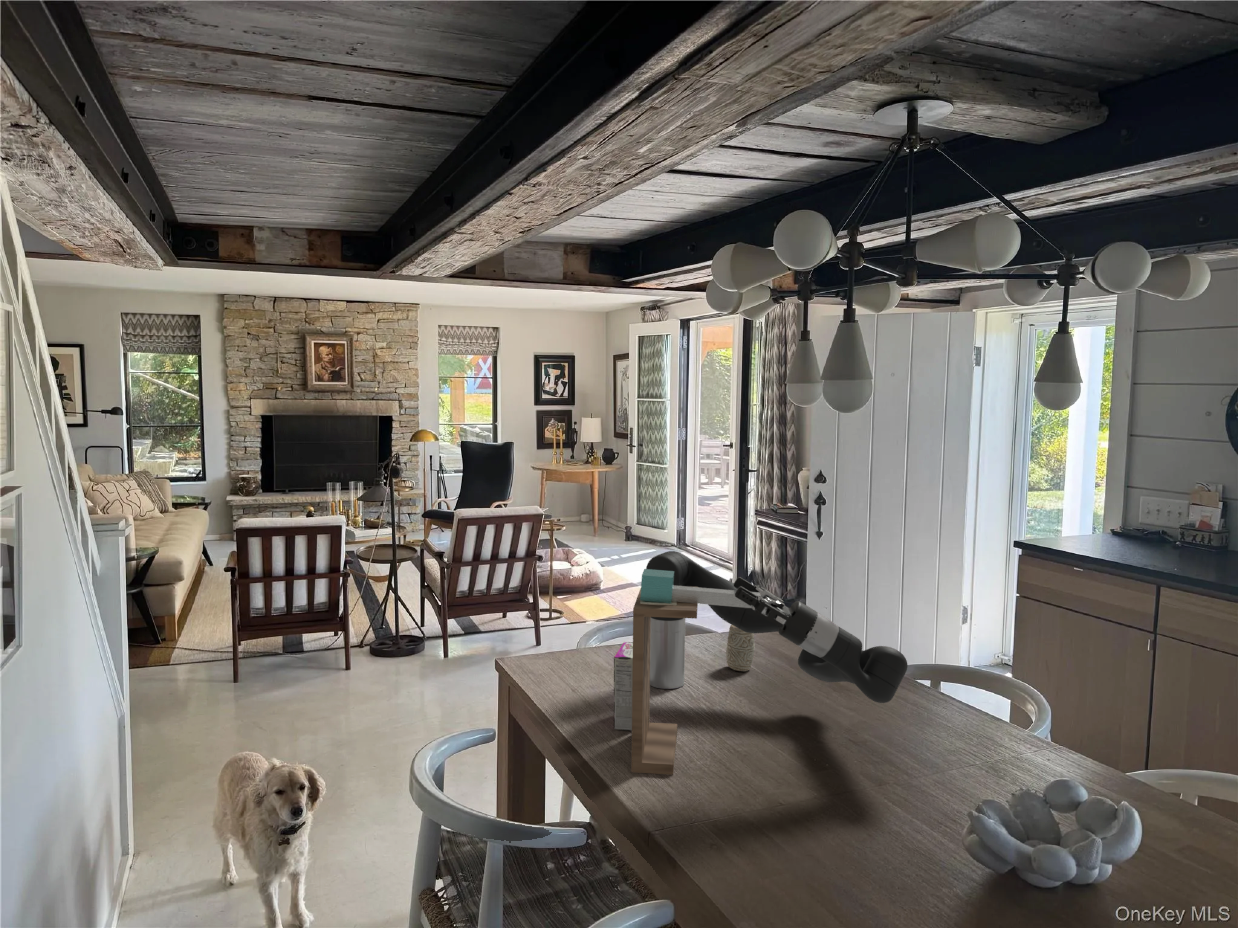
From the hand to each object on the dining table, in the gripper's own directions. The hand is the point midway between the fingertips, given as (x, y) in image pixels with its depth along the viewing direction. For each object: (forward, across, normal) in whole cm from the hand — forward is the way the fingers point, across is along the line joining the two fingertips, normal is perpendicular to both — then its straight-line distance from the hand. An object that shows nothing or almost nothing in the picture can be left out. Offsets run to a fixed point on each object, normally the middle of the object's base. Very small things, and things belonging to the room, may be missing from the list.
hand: (736, 585), depth 161 cm
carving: (-21, -58, +29) cm, 68 cm away
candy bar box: (+2, -18, +42) cm, 46 cm away
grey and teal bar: (+4, 0, +7) cm, 8 cm away
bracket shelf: (-6, -3, +37) cm, 38 cm away
